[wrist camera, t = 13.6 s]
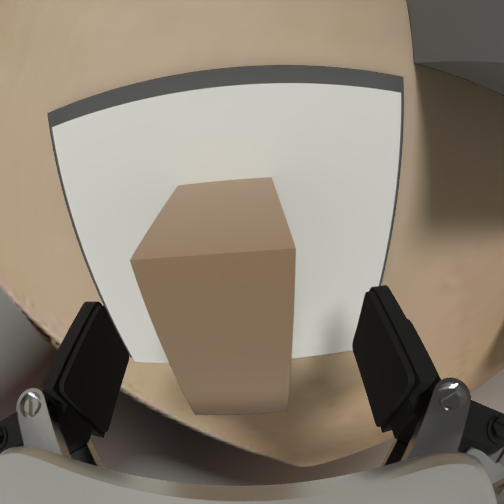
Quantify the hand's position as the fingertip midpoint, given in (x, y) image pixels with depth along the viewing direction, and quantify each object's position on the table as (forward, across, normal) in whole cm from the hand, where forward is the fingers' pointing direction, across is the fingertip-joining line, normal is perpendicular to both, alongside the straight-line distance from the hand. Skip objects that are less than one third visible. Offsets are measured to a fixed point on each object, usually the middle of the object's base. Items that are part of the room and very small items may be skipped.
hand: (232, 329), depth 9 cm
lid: (+6, 0, 0) cm, 6 cm away
